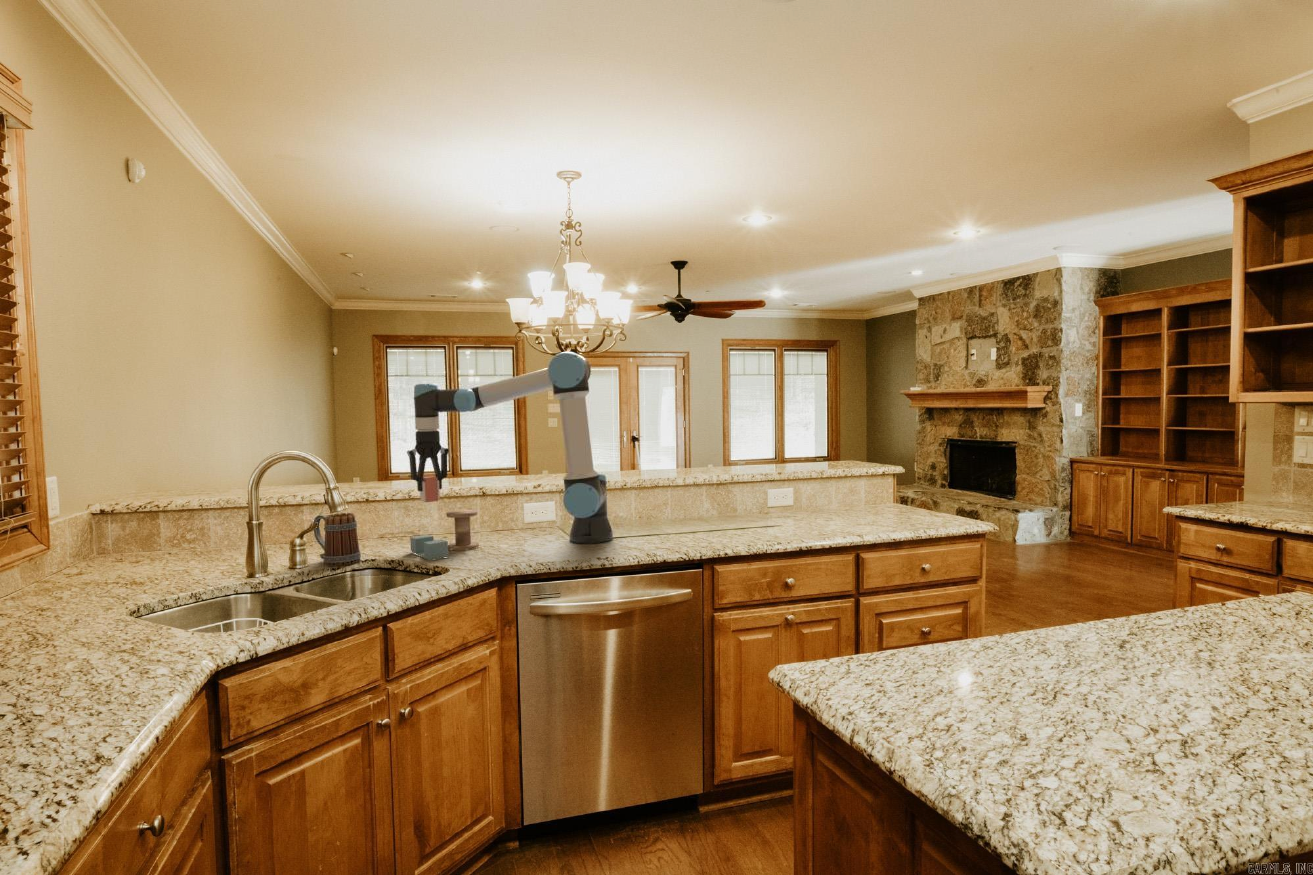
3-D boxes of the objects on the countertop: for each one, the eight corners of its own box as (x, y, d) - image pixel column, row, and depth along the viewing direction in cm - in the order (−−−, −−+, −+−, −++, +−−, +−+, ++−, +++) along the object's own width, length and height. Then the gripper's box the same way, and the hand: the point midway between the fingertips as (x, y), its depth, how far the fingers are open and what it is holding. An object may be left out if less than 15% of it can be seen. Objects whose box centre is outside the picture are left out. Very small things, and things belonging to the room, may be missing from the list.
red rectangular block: (438, 500, 226) (437, 477, 226) (426, 502, 224) (425, 478, 224) (433, 499, 230) (433, 476, 229) (422, 500, 227) (421, 477, 227)
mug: (368, 559, 214) (366, 512, 214) (343, 567, 205) (340, 518, 204) (329, 557, 220) (327, 511, 219) (303, 564, 210) (300, 516, 209)
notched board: (448, 557, 215) (447, 541, 215) (429, 560, 211) (429, 544, 211) (428, 549, 227) (428, 534, 227) (410, 552, 223) (410, 537, 223)
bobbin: (483, 547, 229) (482, 512, 228) (455, 552, 223) (454, 515, 222) (470, 542, 237) (469, 508, 236) (443, 547, 230) (441, 512, 230)
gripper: (448, 428, 234) (450, 496, 235) (397, 431, 223) (400, 501, 224) (456, 429, 228) (459, 498, 229) (405, 431, 217) (408, 504, 218)
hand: (430, 499), depth 227 cm, fingers closed on red rectangular block, 4 cm apart
